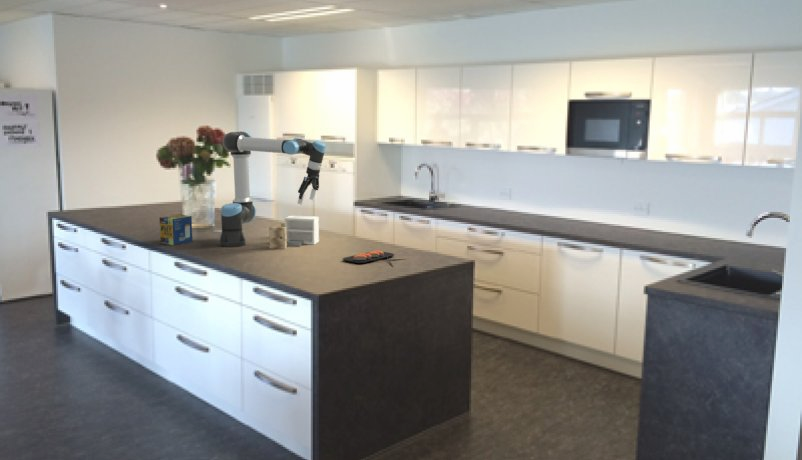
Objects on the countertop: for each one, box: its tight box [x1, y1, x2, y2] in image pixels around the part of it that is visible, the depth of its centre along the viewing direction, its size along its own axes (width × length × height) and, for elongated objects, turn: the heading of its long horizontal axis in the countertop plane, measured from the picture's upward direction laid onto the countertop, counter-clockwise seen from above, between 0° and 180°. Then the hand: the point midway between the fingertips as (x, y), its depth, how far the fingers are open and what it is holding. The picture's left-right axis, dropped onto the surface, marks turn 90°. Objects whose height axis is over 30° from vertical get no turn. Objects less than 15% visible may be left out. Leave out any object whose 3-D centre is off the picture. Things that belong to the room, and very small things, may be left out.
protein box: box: [159, 214, 193, 246], centre depth 395 cm, size 10×15×16 cm
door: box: [268, 226, 288, 250], centre depth 382 cm, size 9×4×12 cm, turn 81°
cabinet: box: [284, 215, 320, 247], centre depth 397 cm, size 18×18×15 cm
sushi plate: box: [342, 250, 406, 268], centre depth 353 cm, size 29×30×4 cm
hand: (305, 201), depth 394 cm, fingers open, 13 cm apart
